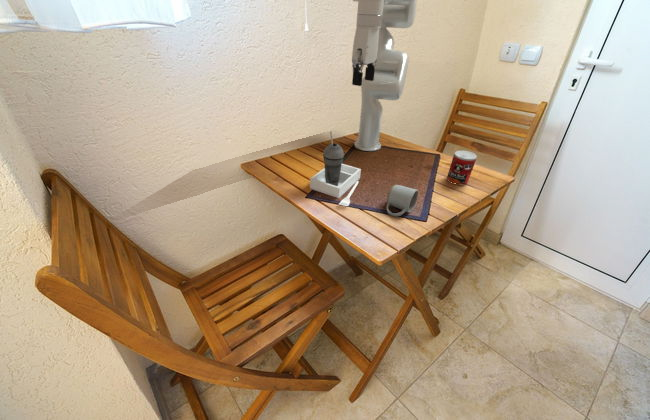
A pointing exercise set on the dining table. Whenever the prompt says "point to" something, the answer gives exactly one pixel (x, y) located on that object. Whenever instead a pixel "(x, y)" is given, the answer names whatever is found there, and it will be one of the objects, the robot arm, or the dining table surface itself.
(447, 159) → the dining table surface
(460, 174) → the canned food
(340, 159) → the beverage cup
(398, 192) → the ceramic mug
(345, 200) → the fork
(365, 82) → the robot arm
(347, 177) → the divided tray
